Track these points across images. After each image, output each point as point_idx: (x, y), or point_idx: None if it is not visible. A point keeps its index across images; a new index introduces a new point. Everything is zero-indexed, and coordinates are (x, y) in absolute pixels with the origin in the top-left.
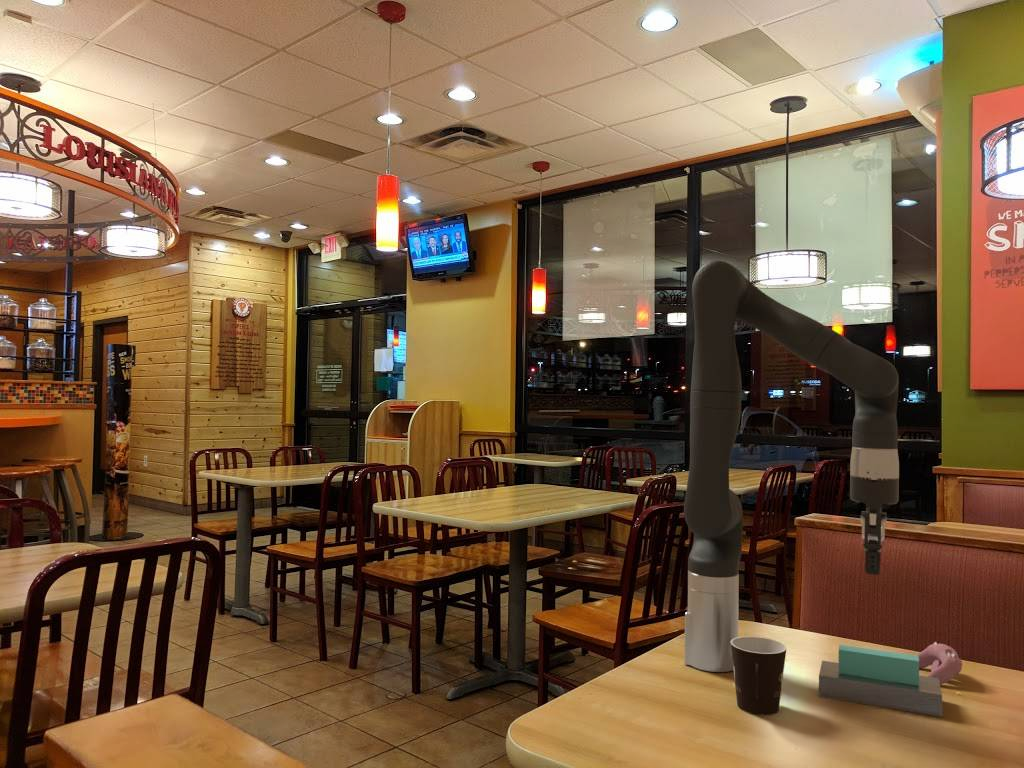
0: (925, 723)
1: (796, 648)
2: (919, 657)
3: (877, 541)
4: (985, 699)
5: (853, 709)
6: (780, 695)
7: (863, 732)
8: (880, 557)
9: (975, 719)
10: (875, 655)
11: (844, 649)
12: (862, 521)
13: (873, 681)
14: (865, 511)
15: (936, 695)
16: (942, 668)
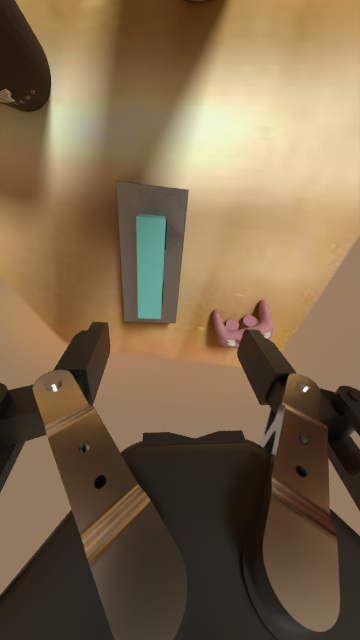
0: (103, 296)
1: (321, 150)
2: (263, 311)
3: (270, 405)
4: (191, 344)
5: (100, 228)
6: (13, 106)
7: (35, 235)
8: (243, 369)
9: (138, 333)
10: (137, 270)
11: (141, 226)
12: (81, 536)
13: (129, 258)
14: (302, 633)
15: (124, 316)
16: (217, 328)
